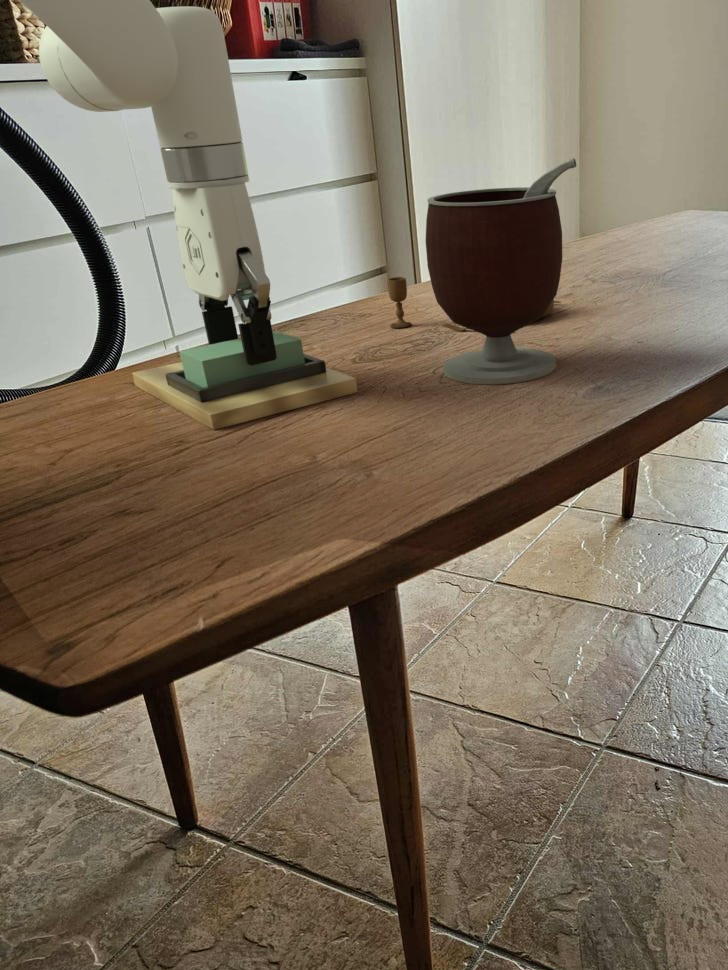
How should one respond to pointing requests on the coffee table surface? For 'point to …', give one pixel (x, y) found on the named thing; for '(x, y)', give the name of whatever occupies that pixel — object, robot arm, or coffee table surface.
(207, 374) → the green rectangular block
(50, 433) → the coffee table surface
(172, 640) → the coffee table surface
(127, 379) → the coffee table surface
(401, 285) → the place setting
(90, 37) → the robot arm
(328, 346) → the coffee table surface
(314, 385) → the wooden block holder
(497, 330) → the mate gourd
